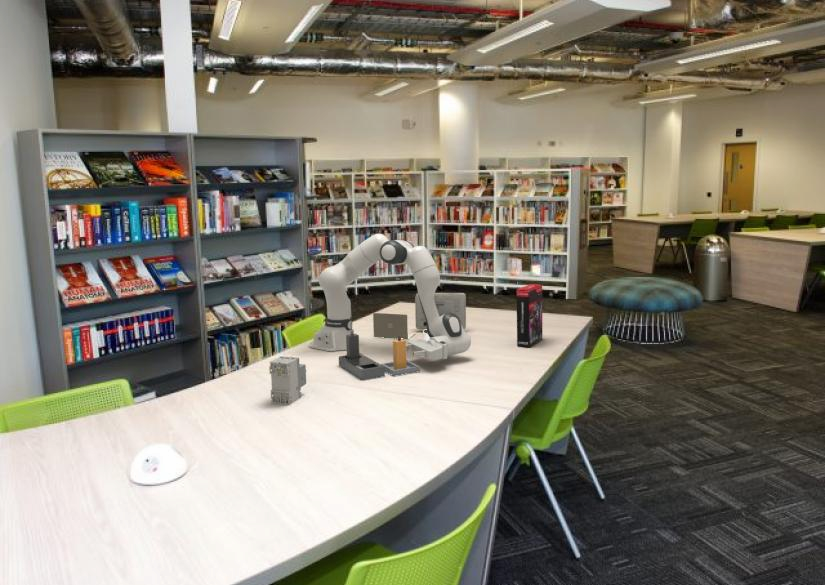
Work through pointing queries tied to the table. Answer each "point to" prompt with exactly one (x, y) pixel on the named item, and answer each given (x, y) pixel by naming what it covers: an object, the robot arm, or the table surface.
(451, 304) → the network device
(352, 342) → the twin plug
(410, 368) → the tray
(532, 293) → the graphics card box
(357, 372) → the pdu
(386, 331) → the laptop
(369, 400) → the table surface
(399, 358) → the plug
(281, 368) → the circuit breaker
